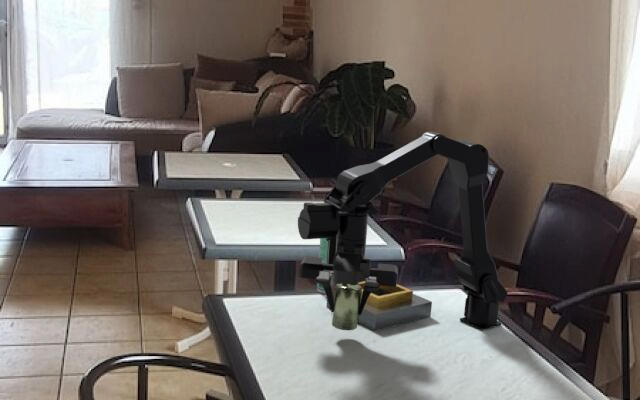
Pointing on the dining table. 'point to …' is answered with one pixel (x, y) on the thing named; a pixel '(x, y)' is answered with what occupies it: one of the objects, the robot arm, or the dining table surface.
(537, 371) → the dining table surface
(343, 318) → the spout can
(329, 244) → the spray can
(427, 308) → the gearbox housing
